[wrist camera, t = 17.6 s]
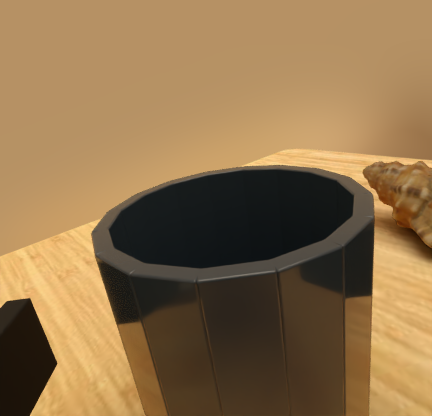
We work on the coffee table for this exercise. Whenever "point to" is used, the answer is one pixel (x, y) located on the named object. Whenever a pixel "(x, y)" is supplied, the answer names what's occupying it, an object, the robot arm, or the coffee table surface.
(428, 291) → the coffee table surface
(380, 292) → the coffee table surface
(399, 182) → the seashell
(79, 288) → the coffee table surface
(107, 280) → the cup
